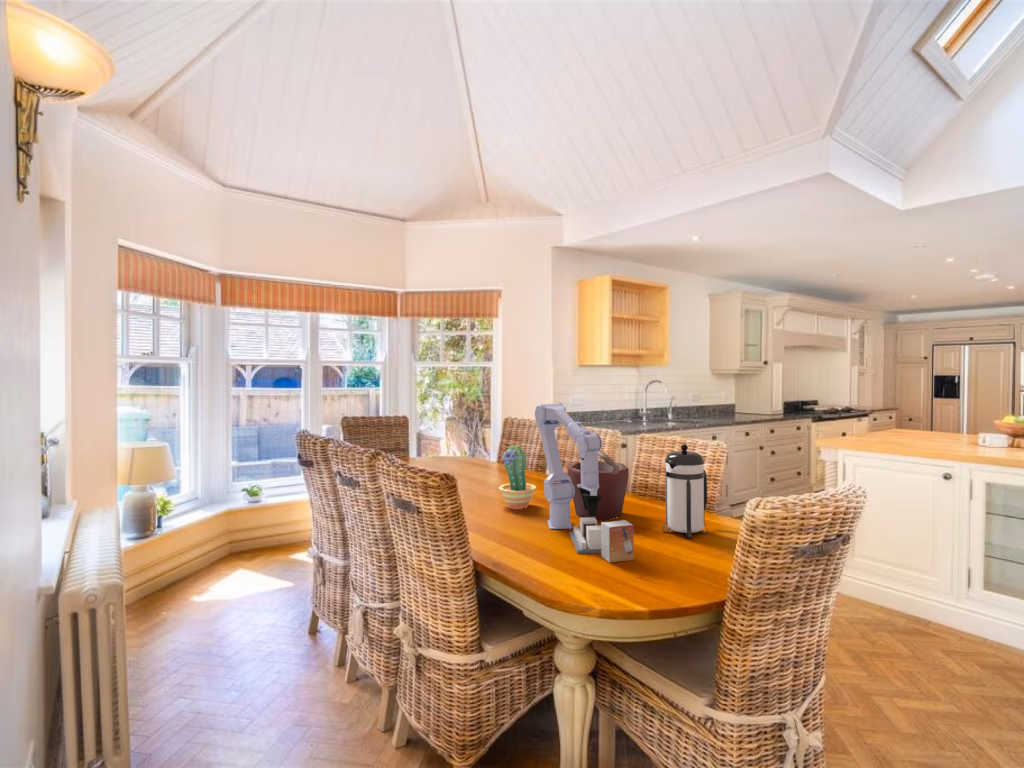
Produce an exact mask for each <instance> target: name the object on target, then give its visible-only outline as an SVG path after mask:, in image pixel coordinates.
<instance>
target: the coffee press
mask: <svg viewBox="0 0 1024 768" xmlns="http://www.w3.org/2000/svg"><path fill="white" fill-rule="evenodd" d="M680 449H681V450H674V451H671V452H669V453H667V455H666V457H665V458H664V462H665V472H664V473H665V480H664V481H665V484H664V485H665V524H664V526H663V527H662V529H661V531H663V533H664V531H666V533H668V531H670V530H672V531H675V532H678V533H685V534H686V539H687V540H692V539H693V534H692V533H698V532H699V533H700V531H702V533H704V534H709V530H708V528H707V527H706V523H705V521H706V520H705V517H706V516H705V510H706V508H707V503H708V477H707V473H706V470H705V469H704V468H705V467H704V466H705V462H706V461H705V459H704V458H703V457H704V456H703V455H701V454H700V453H698V452H695V451H691V450H689V451H688V449H689V447H688V445H687V444H685V443H684V444H683V443H682V445H681V446H680ZM666 527H668V528H667V529H666V530H665V528H666ZM704 528H705V529H706V531H704V530H703V529H704ZM705 532H706V533H705Z"/></svg>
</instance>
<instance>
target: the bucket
mask: <svg viewBox="0 0 1024 768" xmlns="http://www.w3.org/2000/svg"><path fill="white" fill-rule="evenodd" d="M598 457H600V458H601V459H603V461H601V460H598V478H599V488H598V490H597V494H601V495H602V497H601V499H600V501H599V503H598V507H597V512H596V516H589V514H588V510H585V508H584V503H583V498H582V495H581V492H580V490H579V487H577V484H581V461H579V462H575V463H572V464H571V465H569V466H567V475H568V476H569V477H570V478H571V482H572V484H573V485H574V488H575V494H574V497H573V498H572V501H573V505H574V510H575V515H576V516H577V515H578V516H577V517H579V516H580V517H579V518H582V517H595V518H596V520H610V519H613V518H616V517H620V516H621V517H622V514H623V509H624V504H625V503H624V502H625V499H626V494H627V488H628V482H629V477H630V476H629V475H630V474H629V472H630V471H629V469H630V468H629V467H627V466H626V465H625V464H624V463H620V462H615V461H614V460H613V459H612V458H611V456H609V455H608V454H607V453H605V451H603V450H601V449H600V450H599V451H598ZM580 488H581V487H580ZM621 517H620V518H621ZM616 519H617V518H616ZM613 520H614V519H613ZM610 521H611V520H610Z"/></svg>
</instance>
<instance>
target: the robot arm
mask: <svg viewBox="0 0 1024 768" xmlns="http://www.w3.org/2000/svg"><path fill="white" fill-rule="evenodd" d="M566 408H567V407H566V406H565V405H564V404H563V403H561V402H557V403H539V404H537V405H536V408H535V410H534V417H535V422H536V427H537V428H538V429H539V433H540V438H541V443H542V446H543V452H544V457H545V462H546V465H547V471H548V476H547V477H546V479H545V480H544V481H543V486H544V488H543V489H544V490H543V492H544V493H543V494H544V498H545V499H546V500H547V502H548V503H549V519H548V520H547V524H548V527H549V529H550V530H562V529H563V530H567V529H569V530H570V529H573V525H572V522H571V502H572V501H573V497H574V494H575V488H574V485H573V484H572V482H571V478H570V477H569V476H568V474H566V472H564V469H563V465H562V460H561V455H560V451H559V446H558V441H557V436H556V432H555V430H556V428H558V427H560V425H561V426H563V427H564V428H566V433H567V436H569V437H570V438H571V439H572V440H573V441H574V442H575V443H576V449H577V450H578V457H579V458H580V462H581V484H577V487H579V490H580V492H581V495H582V498H583V503H584V508H585V510H588V514H589V516H596V512H597V507H598V503H599V501H600V499H601V497H602V495H601V494H597V490H598V488H599V478H598V461H599V455H598V451H599V450H601V449H602V446H603V442H602V441H603V440H602V438H601V436H600V435H599V433H594V432H591V431H590V430H588V428H586V426H584V425H583V423H582V422H581V421H575V420H574V419H573V418H572V417H571V416H570V415H569V413H567V409H566ZM580 487H581V488H580Z"/></svg>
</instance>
